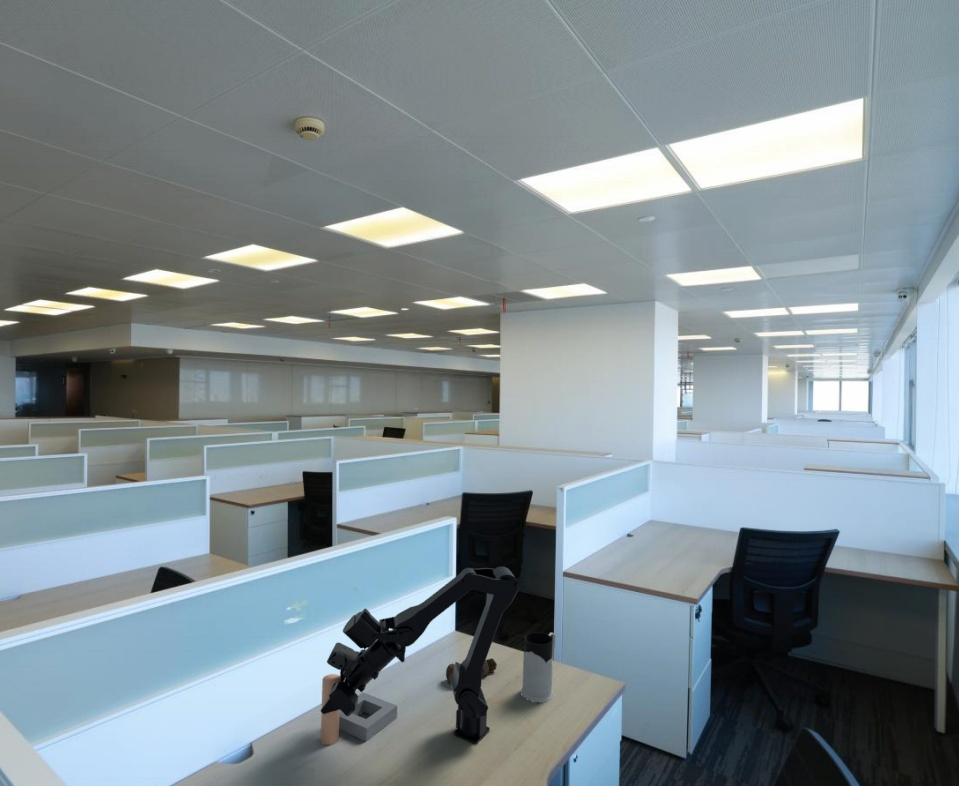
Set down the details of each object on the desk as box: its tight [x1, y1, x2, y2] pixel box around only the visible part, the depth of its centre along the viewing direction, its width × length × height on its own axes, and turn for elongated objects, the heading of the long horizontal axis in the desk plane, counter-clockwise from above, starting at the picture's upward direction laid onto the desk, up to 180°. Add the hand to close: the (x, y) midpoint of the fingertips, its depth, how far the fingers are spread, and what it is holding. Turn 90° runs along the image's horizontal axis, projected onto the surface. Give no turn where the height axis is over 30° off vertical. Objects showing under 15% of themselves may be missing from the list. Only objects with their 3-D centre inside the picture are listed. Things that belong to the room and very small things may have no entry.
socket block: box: [339, 691, 398, 742], centre depth 135 cm, size 11×11×3 cm
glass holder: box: [520, 631, 556, 704], centre depth 152 cm, size 9×14×15 cm, turn 146°
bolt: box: [445, 658, 498, 686], centre depth 158 cm, size 6×5×15 cm
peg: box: [320, 673, 340, 746], centre depth 128 cm, size 4×4×14 cm
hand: (324, 706), depth 128 cm, fingers open, 4 cm apart
